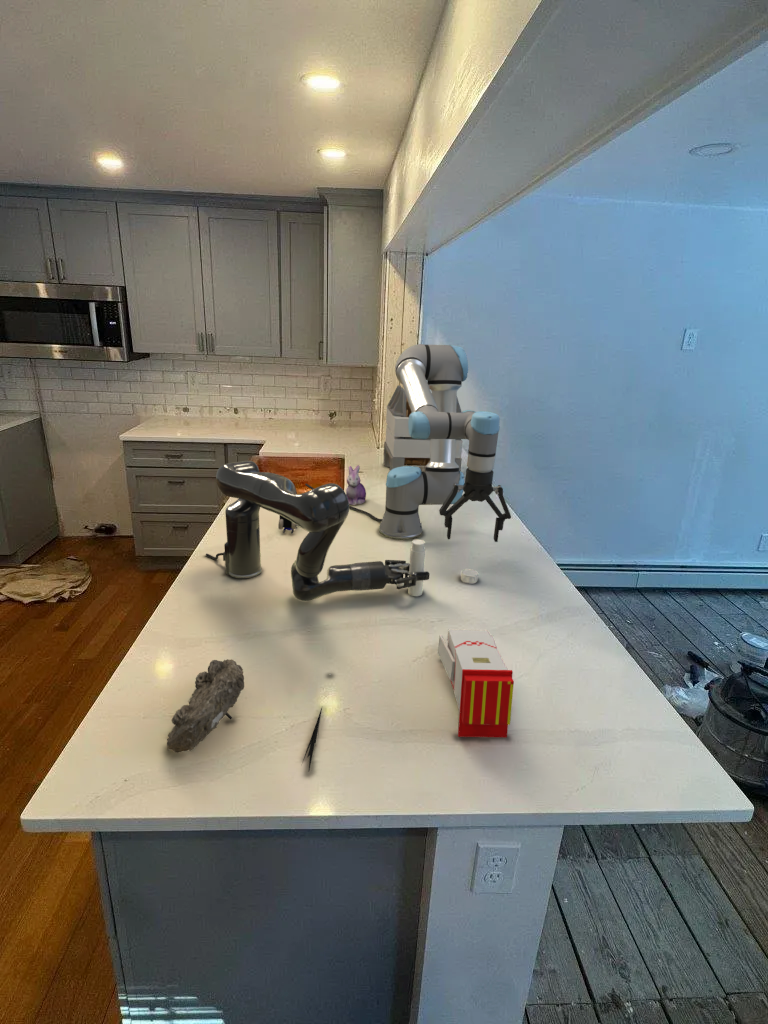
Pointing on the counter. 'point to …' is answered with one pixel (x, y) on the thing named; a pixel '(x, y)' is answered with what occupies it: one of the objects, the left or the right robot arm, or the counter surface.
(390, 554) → the counter surface
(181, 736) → the fossil
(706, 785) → the counter surface
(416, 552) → the white long cylinder
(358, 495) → the figurine
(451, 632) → the toy
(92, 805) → the counter surface
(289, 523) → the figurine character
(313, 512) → the left robot arm
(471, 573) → the lid
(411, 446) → the white slatted crate
